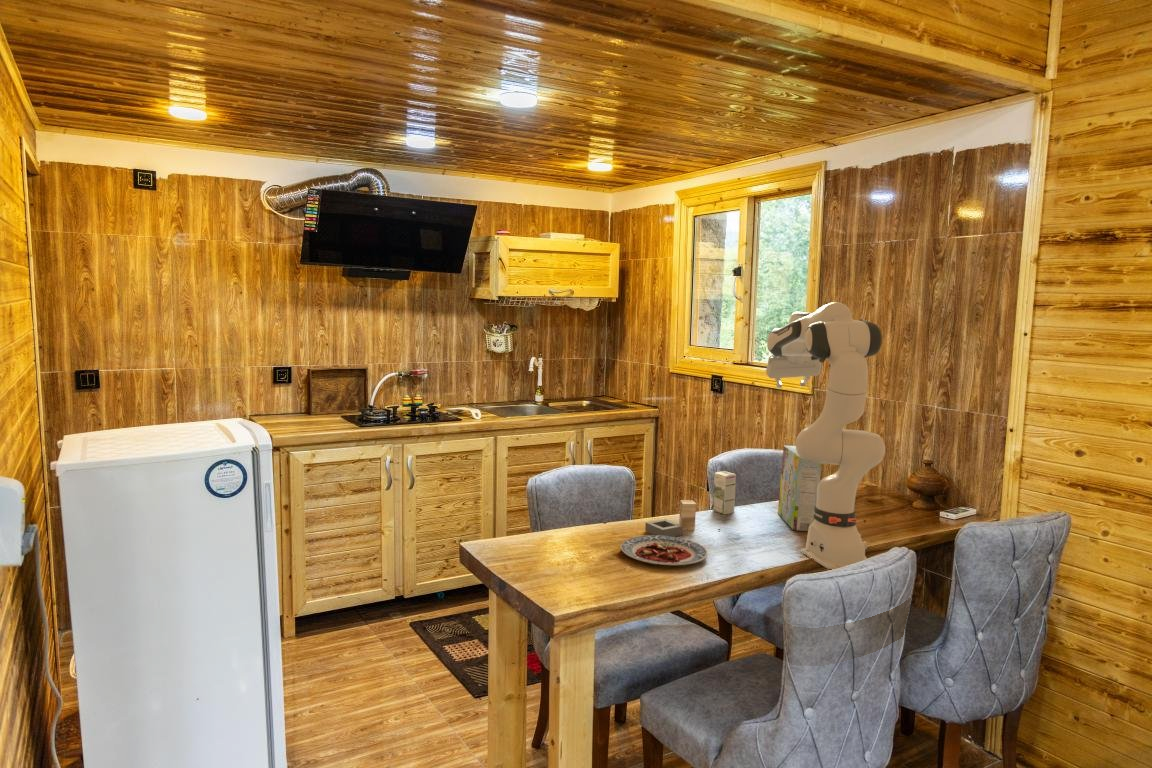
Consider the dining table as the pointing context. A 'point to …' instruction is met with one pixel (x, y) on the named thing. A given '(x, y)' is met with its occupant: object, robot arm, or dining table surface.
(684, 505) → the oak peg
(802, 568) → the dining table surface
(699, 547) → the ceramic plate
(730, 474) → the syrup box
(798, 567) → the dining table surface
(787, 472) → the snack box
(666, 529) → the square collar
